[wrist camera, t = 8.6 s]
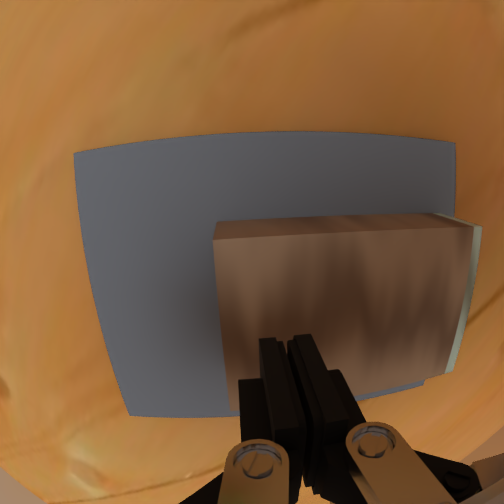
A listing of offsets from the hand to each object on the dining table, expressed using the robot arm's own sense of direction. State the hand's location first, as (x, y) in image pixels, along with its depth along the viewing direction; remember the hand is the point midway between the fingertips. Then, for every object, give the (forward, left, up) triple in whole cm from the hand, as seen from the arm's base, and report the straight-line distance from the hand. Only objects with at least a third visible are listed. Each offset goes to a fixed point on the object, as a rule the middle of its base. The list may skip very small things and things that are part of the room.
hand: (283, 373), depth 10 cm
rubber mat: (0, +1, -7) cm, 7 cm away
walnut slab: (0, -2, -4) cm, 5 cm away
